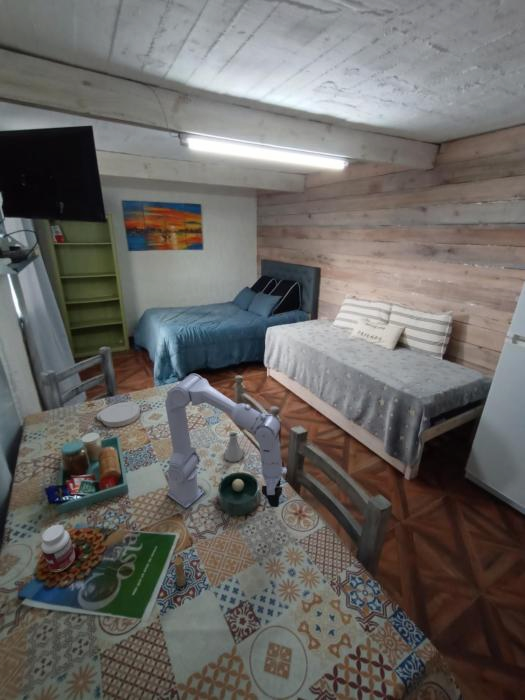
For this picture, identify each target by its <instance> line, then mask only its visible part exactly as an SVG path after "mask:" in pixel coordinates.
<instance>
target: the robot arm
mask: <svg viewBox="0 0 525 700" xmlns="http://www.w3.org/2000/svg"><path fill="white" fill-rule="evenodd" d="M166 394H167V396H166V398H165V402H164V403H165V411H166V416H167V422H168V427H169V428H168V429H169V434H170V440H171V446H172V453H171V456H170V459H169V461H168V469H167V474H168V476H167V483H168V490H169V492H168V493H167V496H168V497H170V499H173V501H175V502H176V503H178V504H179V505H181V506H182V507H183V508H185V509H187V508H189V507H190V506H191V505H192V504H193V503H194V502H196V501H197V500H198V499H200V497H201V496H203V494H204V493H205V492H204V490H202V489H201V488H200V487H199V486H198V485H199V484H198V476H197V473H198V472H197V469H198V467H197V465H199V463H200V462H201V461H200V460H201V459H200V455H199V454H198V452H197V449H196V448H197V447H196V446H194V445H191V437H190V431H189V430H190V428H189V423H188V416H187V415H188V414H187V409H186V407H187V406H189V405H190V403H191V406H192V407H194V406H197V405H201V404H207V405H210V406H212V407H214V409H215V408H216V409H218V410H219V411H222V412H224V413H226V414H228V415H229V416H230V417H231V420H232V422H233V423H234V424H236V425H238V426H239V427H241V428H243V429H245V430H246V431H248V432H249V433H251V434H253V438H254V439H255V441H256V442H257V443H258V446H259V455H260V463H261V475H262V477H263V480H264V483H265V485H261V494H262V495H263V496H264V497H265V499H266V500H267V502H268V503H269V506H270V508H279V504H280V497H281V495H282V493H283V486H281V481H282V477H283V475H287V474H288V468H287V467H285V463H284V462H283V461H282V452H281V451H282V450H281V442H280V435H279V432H280V430H281V426H282V425H281V421H280V419H279V418H278V416H277V417H276V416H275V415H274V414H271V413H262V412H260V411H258V410H256V409H255V408H253V407H252V406H251V405H250V404H248V403H244V402H242V403H241V402H240V403H237V402H234V401H233V400H231V399H230V398H229V397H228V396H226V395H224V394H223V393H221V391H218V390H217V389H215V388H214V387H213V386H211V384H210V383H209V381H208V380H207V378H205V377H202V376H201V375H200V374H198V373H190V374H188V375H187V376H185V378H183V379H182V380H180V382H179V383H177V384H176V385H175V386H172V387H171V388H170V389H169V390H167V392H166Z"/></svg>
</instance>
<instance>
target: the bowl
mask: <svg viewBox="0 0 525 700" xmlns="http://www.w3.org/2000/svg"><path fill="white" fill-rule="evenodd" d="M236 479H241V480H242V481H243V483H244V488H243V489H242V491H240V492H236V491H234V490H233V488H232V483H233V481H234V480H236ZM217 487H218V488H217V492H218V493H217V495H218V496H217V497H218V504H219V506H220V508H221V509H222V511H223V512H225V513H226V514H228V515H231V516H239V517H240V516H245V515H248V514H250V513H251V512H253V511H254V510H255V509H256V508H257V507H258V504H259V502H260V484H259V481H258V479H257V478H256V477H255V476H254V475H252V474H250V473H247V472H244V471H243V472H242V471H241V472H240V471H239V472H233V473H229V474H228V475H226V476H224V477H223V478H222V479H221V480H220V482H219V483H218V486H217Z"/></svg>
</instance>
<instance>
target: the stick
mask: <svg viewBox="0 0 525 700" xmlns="http://www.w3.org/2000/svg"><path fill="white" fill-rule="evenodd" d="M173 564H174V565H173V566H174V571H175V579H176V585H177V586H178V587H180V588H182V587H184V586H185V584H186V576H185V568H184V560H183V558H182V557H181V556H178V557H176V558H175V559H174V561H173Z"/></svg>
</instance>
